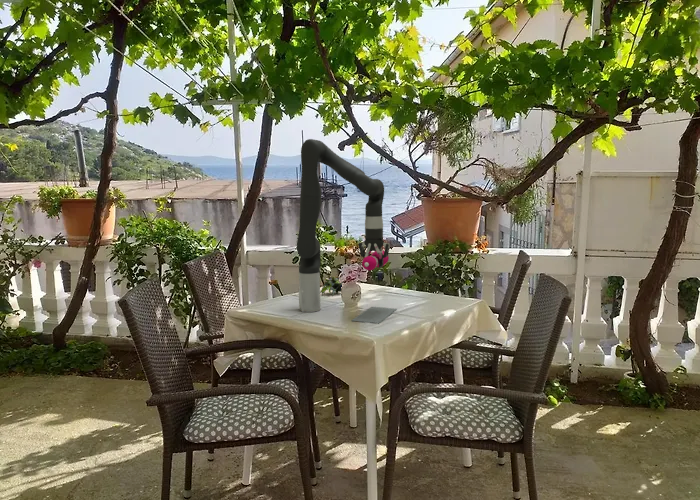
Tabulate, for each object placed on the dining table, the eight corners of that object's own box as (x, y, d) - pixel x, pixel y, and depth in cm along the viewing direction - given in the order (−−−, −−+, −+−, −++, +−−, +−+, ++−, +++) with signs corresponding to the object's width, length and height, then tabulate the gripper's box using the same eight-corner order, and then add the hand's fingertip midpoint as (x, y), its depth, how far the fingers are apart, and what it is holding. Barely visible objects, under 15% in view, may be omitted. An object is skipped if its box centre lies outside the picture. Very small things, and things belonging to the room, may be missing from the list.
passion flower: (336, 303, 266) (350, 284, 265) (333, 304, 255) (347, 284, 254) (319, 290, 267) (332, 271, 267) (315, 291, 256) (329, 271, 256)
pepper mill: (376, 247, 226) (360, 253, 208) (391, 252, 224) (376, 259, 206) (372, 262, 228) (355, 270, 210) (387, 267, 226) (371, 276, 207)
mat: (379, 323, 207) (379, 322, 207) (351, 321, 211) (351, 320, 211) (397, 309, 229) (397, 308, 228) (371, 307, 233) (371, 306, 233)
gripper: (354, 227, 214) (355, 267, 216) (387, 228, 209) (387, 269, 211) (361, 225, 221) (361, 264, 223) (393, 226, 215) (393, 266, 218)
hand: (374, 266), depth 217 cm, fingers closed on pepper mill, 5 cm apart
